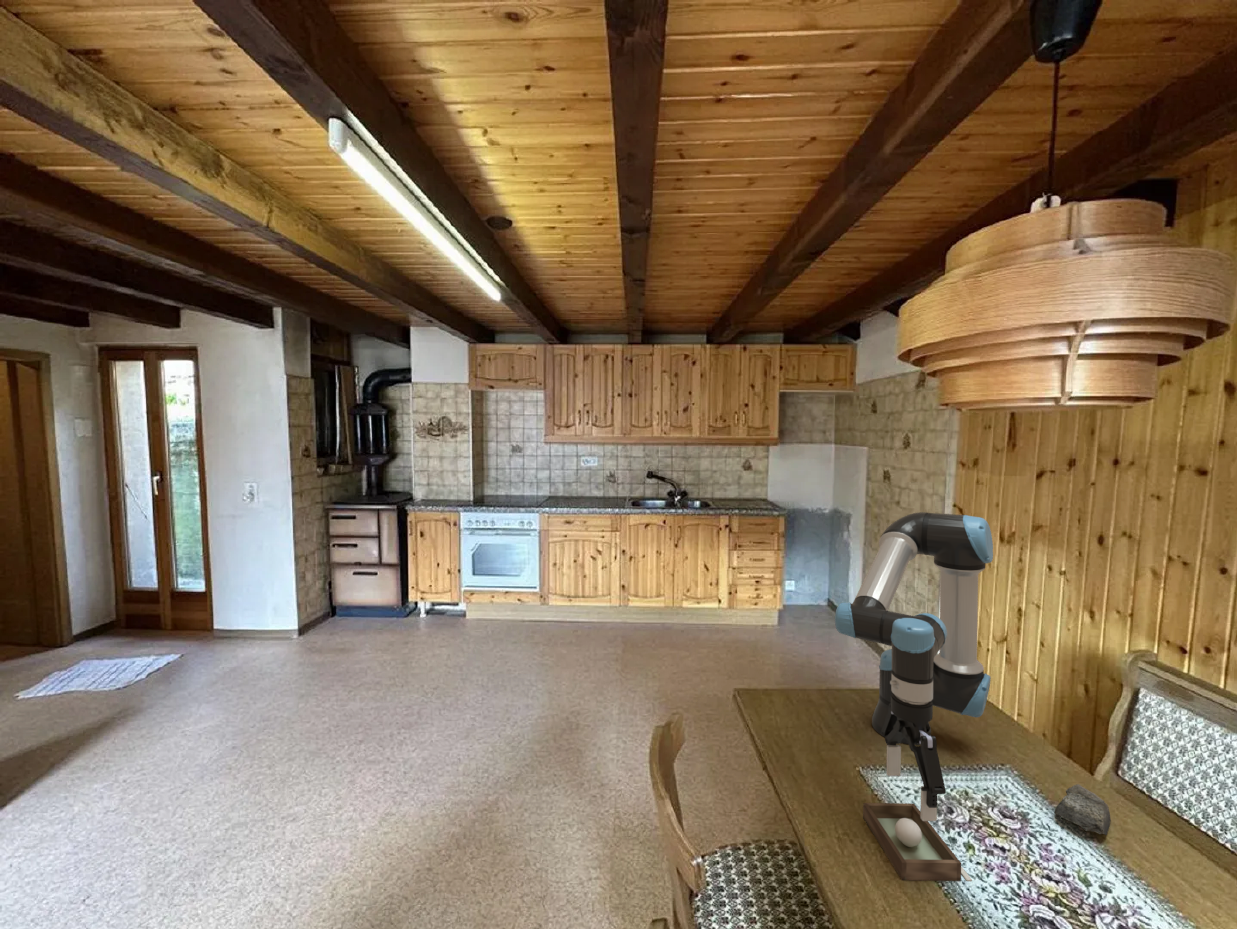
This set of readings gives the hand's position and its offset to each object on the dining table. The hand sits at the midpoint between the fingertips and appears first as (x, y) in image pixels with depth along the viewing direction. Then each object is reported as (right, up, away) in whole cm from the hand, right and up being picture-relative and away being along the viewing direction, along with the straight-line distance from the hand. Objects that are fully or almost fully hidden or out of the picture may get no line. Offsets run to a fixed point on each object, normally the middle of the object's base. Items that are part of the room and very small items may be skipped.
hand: (909, 796), depth 110 cm
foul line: (+7, -11, 0) cm, 13 cm away
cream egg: (0, -10, 0) cm, 10 cm away
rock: (+42, -11, +7) cm, 44 cm away
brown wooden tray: (0, -11, 0) cm, 11 cm away
